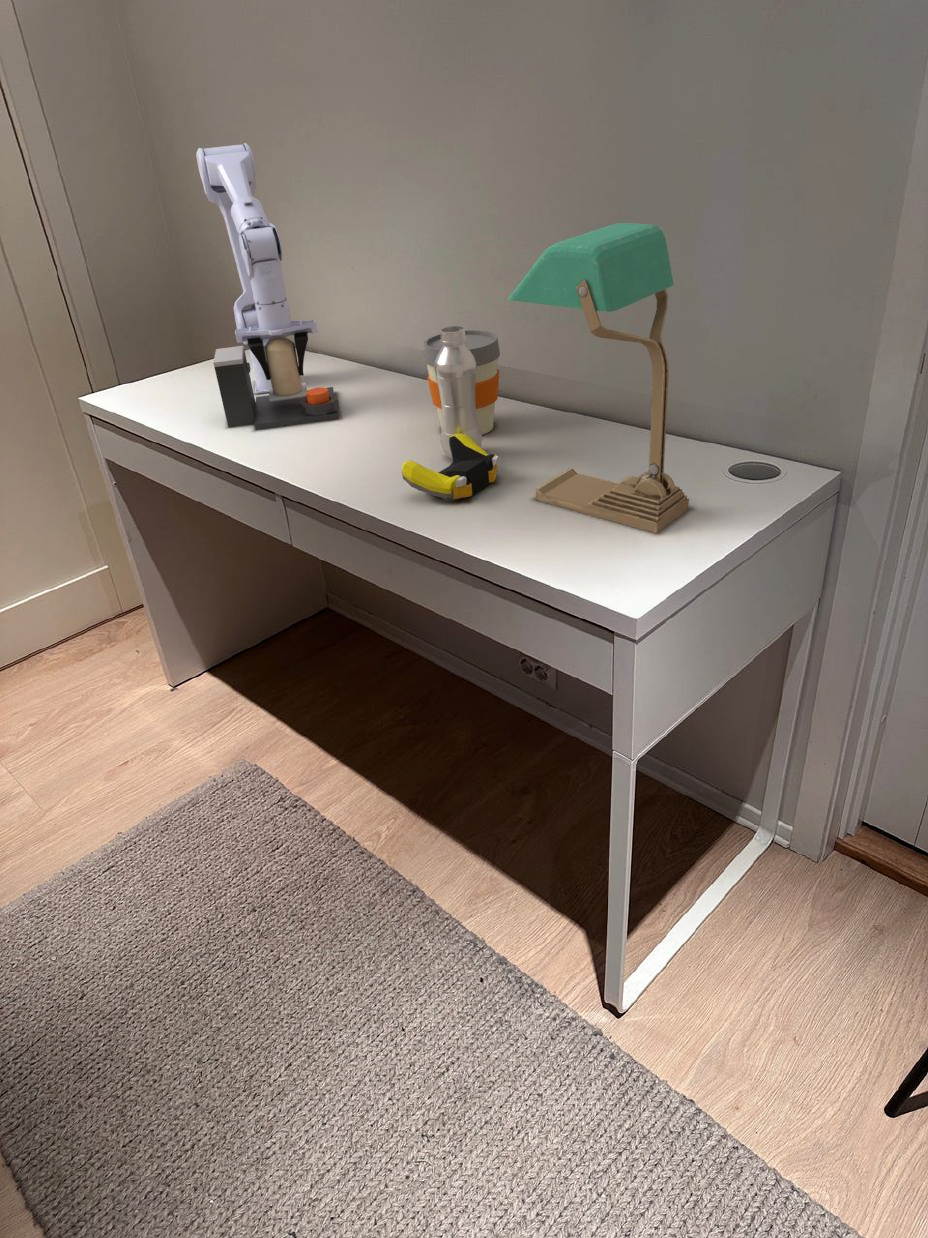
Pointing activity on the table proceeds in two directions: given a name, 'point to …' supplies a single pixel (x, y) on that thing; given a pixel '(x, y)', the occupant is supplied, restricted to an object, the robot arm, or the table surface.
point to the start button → (317, 395)
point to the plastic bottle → (456, 387)
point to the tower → (240, 386)
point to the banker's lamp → (607, 281)
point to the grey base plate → (293, 411)
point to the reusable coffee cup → (486, 373)
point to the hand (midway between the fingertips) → (285, 376)
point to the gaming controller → (454, 471)
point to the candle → (283, 366)
